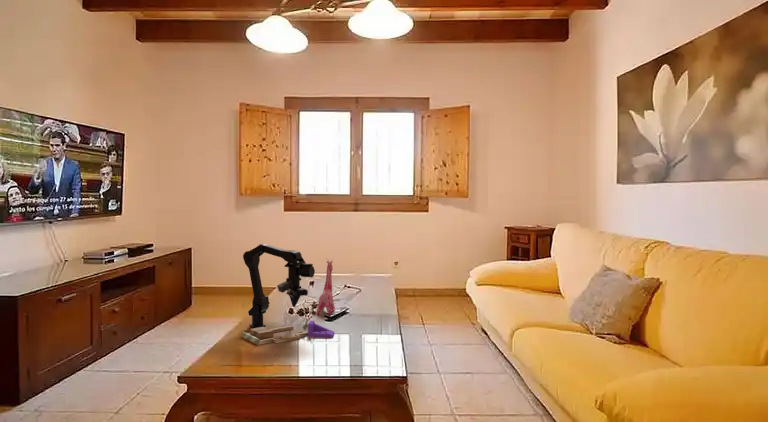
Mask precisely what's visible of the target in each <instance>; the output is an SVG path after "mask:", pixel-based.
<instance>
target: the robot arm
mask: <svg viewBox="0 0 768 422" xmlns="http://www.w3.org/2000/svg"><path fill="white" fill-rule="evenodd" d="M264 253H265V254H268V255H271V256H274V257H277V258H281V259H282V260H284V261H285V262H287V263H286V264H285V265H284V266H283V267H285V268H287V269H288V270H287V271H288V274H287V275H288V276H287V278H286V279H285V281H283V282H281V283H279V284H277V285H276V288H277V290H278V292H281V293H285V294H286V295H288V296H289V299H290V302H291V307H292V308H296V306H297V304H298V302H299V300H300V298H301V296H302V297H303V296H308V295H309V290H308V289H306V288H304V287H303V288H302V286H301V281H302V278H314V276H315V272H316V271H315V268H314V266H313V264H314V263H307V262H306V260H305V259H304V258H303V257H302V254H301V252H300V251H299V250H293V249H284V248H280V247H276V246H273V245H270V244H267V243H261V244H258V245H257V246H256V247H254V248H252V249H250V250H247V251H245V252H243V255H242V259H243V262H244V264H245V266H246V267H247V268H248V271H249V277H250V282H251V288H252V293H253V298H252V301H251V303H252V307H251V308H250V309H249V310H248V312H247V313H248V316H249V317H251V323H250V324H249V325H248V326H249V327H251V328H259V327H266V326H267V325H266V324H264V314H266V313H267V311H268V309H269V307H270V304H271V303H270V301H269V296H268V295H267V296H266V295H265V293H264V290H263V284H262V280H261V273H260V269H259V268H260V267H259V264H260V260H261V259H260V258H261V256H262V255H264Z"/></svg>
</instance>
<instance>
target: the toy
mask: <svg viewBox="0 0 768 422" xmlns="http://www.w3.org/2000/svg"><path fill="white" fill-rule="evenodd" d="M333 260H334V258H332V259H331V260H329V259H328V258H326V263H327V265H326V277H325V283H324V286H323V291H322V293H321V295H320V296H319V298H318V304H317V305H318V306H317V308H316V315H320V314H321V312H322V311H324V310H325V308H326V312H327V314H328V316H331V315H332V312H334V311H335V310H336V306H335V302H334V296H333V282H332V281H333V280H332V277H333V276H332V274H333V273H332V272H333V267H334V266H333V262H334V261H333Z"/></svg>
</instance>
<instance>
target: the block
mask: <svg viewBox="0 0 768 422" xmlns="http://www.w3.org/2000/svg"><path fill="white" fill-rule="evenodd" d="M270 329H271V328H268V327H266V326H263V327H257V328H254V327H252V328H250V330H249V333H250V335H252V336H254V337H256V338H258V339H260V340H264V339H270V338H274V333H273V331H272V330H270Z"/></svg>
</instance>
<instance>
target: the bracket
mask: <svg viewBox="0 0 768 422" xmlns="http://www.w3.org/2000/svg"><path fill="white" fill-rule="evenodd" d="M307 332H308V336H307V338H316V339H317V338H318V339H321V338H322V339H324V338H325V339H333V338H334V335H335V331H334V330H332V329H329V328H327V327H324V326H322V325H320V324H317V323H315V320H310V321H309V322H308V323H307Z"/></svg>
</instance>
